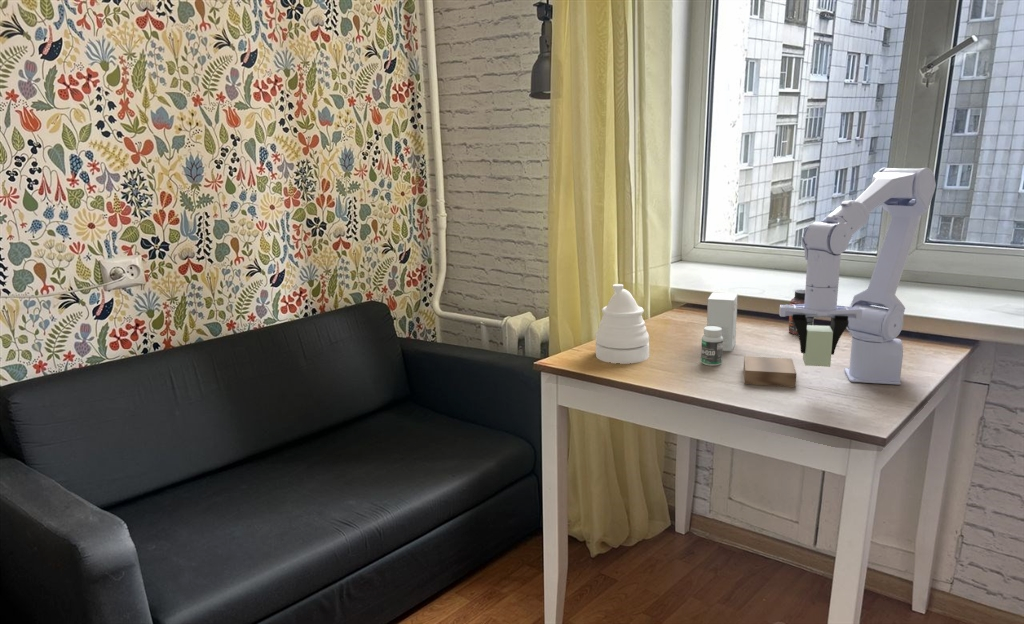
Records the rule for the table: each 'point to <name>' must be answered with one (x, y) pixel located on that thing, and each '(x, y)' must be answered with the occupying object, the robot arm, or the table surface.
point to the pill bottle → (712, 346)
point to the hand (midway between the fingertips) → (816, 352)
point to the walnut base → (769, 371)
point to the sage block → (818, 346)
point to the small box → (723, 316)
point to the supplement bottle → (796, 300)
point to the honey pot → (622, 330)
